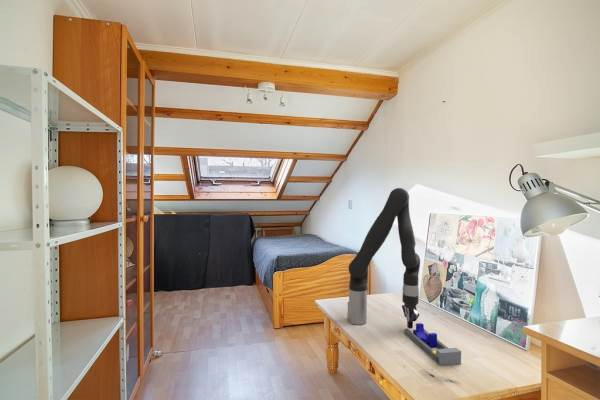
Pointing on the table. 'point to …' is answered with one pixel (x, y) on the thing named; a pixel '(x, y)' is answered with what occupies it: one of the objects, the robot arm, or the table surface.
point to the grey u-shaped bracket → (437, 350)
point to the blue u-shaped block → (425, 336)
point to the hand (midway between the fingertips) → (409, 327)
